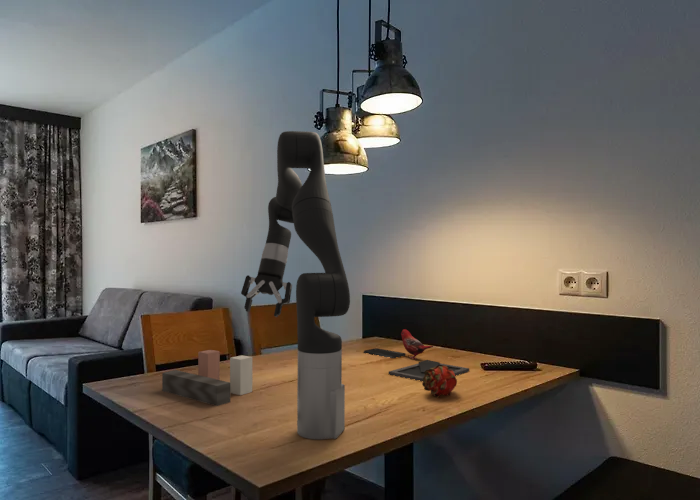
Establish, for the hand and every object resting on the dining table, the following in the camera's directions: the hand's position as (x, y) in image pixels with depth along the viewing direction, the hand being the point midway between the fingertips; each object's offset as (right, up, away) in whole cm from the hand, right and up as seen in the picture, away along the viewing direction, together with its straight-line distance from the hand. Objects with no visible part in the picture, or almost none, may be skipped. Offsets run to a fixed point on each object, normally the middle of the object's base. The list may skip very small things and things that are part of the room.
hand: (261, 314), depth 148 cm
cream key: (-2, -18, -16) cm, 25 cm away
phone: (+38, -21, +41) cm, 60 cm away
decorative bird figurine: (+49, -20, +31) cm, 61 cm away
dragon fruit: (+50, -20, -13) cm, 55 cm away
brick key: (-13, -18, -9) cm, 24 cm away
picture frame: (+51, -21, +11) cm, 56 cm away
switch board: (-11, -19, -16) cm, 28 cm away
